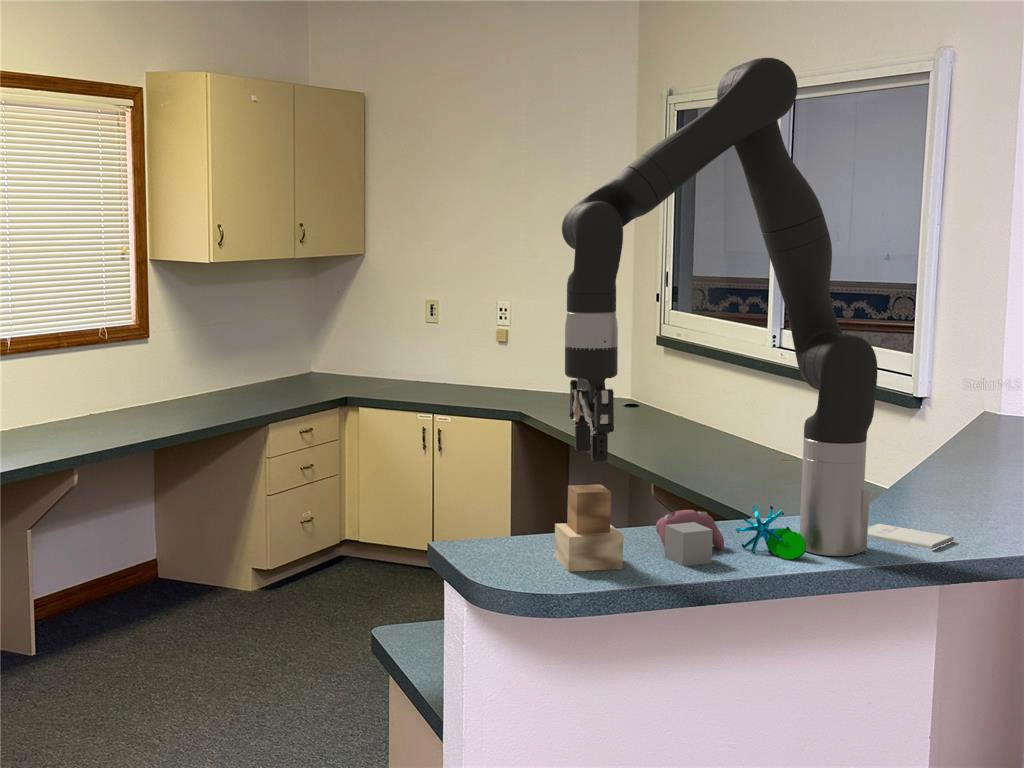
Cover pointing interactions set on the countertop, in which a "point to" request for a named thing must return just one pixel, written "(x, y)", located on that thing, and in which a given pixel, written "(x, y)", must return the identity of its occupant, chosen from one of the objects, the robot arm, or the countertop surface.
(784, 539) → the stick construction toy
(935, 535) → the external hard drive
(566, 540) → the birch block
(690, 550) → the grey cube
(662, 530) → the video game controller
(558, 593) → the countertop surface
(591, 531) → the walnut block
